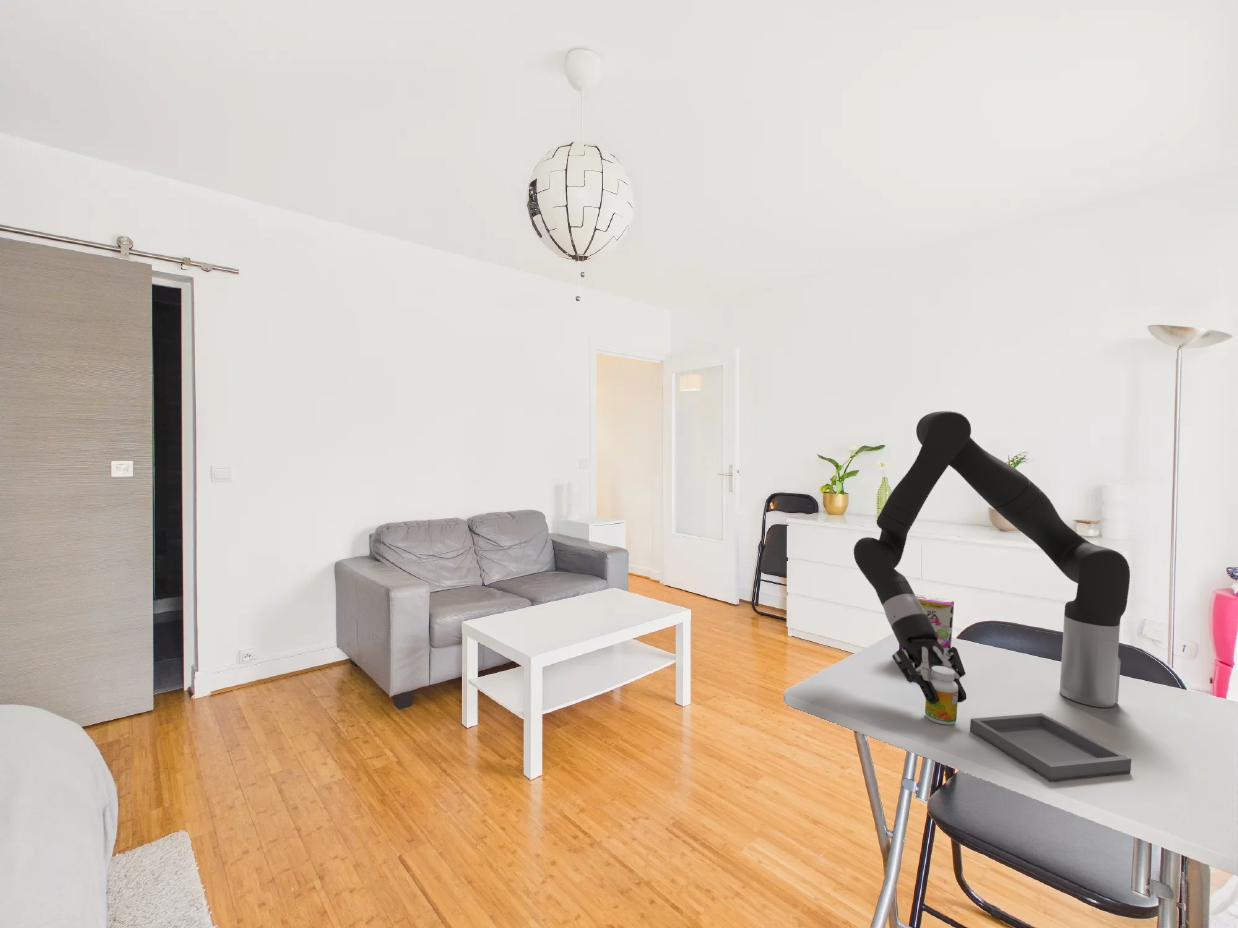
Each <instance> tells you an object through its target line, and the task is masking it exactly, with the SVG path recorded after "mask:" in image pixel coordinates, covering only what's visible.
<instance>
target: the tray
mask: <svg viewBox="0 0 1238 928" xmlns="http://www.w3.org/2000/svg"><path fill="white" fill-rule="evenodd" d="M969 732H970V733H972V734H973V735H974V736H976V737H978V738H979V739H981V740H982V741H984V742H985V743H987V744H989V745H990V746H992V747H994V748H995V749H997V750H999V751H1000V752H1002V753H1003V754H1004V755H1006V756H1008V757H1010V758H1011V759H1013V760H1014V761H1016V762H1017V763H1019V764H1021V765H1022V766H1024V767H1025V768H1027V769H1029V770H1031V772H1033V773H1035V774H1037V776H1040V777H1041V778H1043V779H1045V780H1046V781H1048V782H1050V783H1055V782H1064V781H1065V782H1067V781H1073V780H1074V781H1075V780H1076V781H1077V780H1084V779H1092V778H1093V779H1094V778H1103V777H1105V778H1106V777H1113V776H1121V775H1131V770H1132V758H1130V757H1128V756H1127V755H1124V754H1122V753H1121V752H1118V751H1116V750H1114V749H1113V748H1111V747H1109V746H1107V745H1104V744H1103V743H1100V742H1099V741H1097V740H1095V739H1093V738H1091V737H1089V736H1087V735H1085V734H1083V733H1082V732H1079V731H1077V730H1075V729H1073V728H1072V727H1069V726H1068V725H1066V724H1063V723H1062V722H1060V721H1058V720H1056V719H1053V718H1052V717H1051V716H1048V715H1046V714H1044V713H1042V712H1040V713H1028V714H1015V715H1002V716H1000V715H999V716H989V717H987V716H986V717H975V718H970V724H969Z"/></svg>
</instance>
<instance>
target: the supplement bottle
mask: <svg viewBox="0 0 1238 928" xmlns="http://www.w3.org/2000/svg"><path fill="white" fill-rule="evenodd" d="M930 674H931V676H930V677H929V680H928V681H931V683H932V685H933V687H934V689H935V691H936V693H937V695H938V697H939V702H937V703H936V704H930V703H929V701H927V700H926V699H925V707H924V715H925V717H926V718H927V719H929V720H930V721H931V722H934V723H937V724H940V725H945V726H946V725H948V726H950V725H954V724H955V723H957V717H958V703H959V702H958V685H957V684H956V683H955V682H954V681H953V680H954V679H955V672H954V671H953V670H952V669H950V668H947V667H943V666H933V667H932V669H931V671H930Z"/></svg>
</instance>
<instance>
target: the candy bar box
mask: <svg viewBox="0 0 1238 928" xmlns="http://www.w3.org/2000/svg"><path fill="white" fill-rule="evenodd" d="M915 596H916V598H917V599H918V601H919V602H920V603H921V605H922V607H923V609H924V611H925V612H926V614H927V616H928V618H929V620H930V622H931V624H932V626H933V628H934V630H935V632H936V634H937V641H938V642H939V644H940V645H942V647H943V648H949V649H950V648H952V636H953V626H954V625H953V623H954V611H955V600H951V599H946V598H945V599H944V598H938V597H931V596H926V595H920V594H915ZM899 649H901V650H903V648H902V647H901V646H900V645H899V644H898V650H899ZM943 656H944V655H943ZM944 657H945V656H944ZM908 659H909V658H908ZM909 660H910V659H909ZM910 662H911V663H912V665H913V662H912V661H911V660H910ZM940 666H943V664H941V665H940Z"/></svg>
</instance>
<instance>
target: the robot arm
mask: <svg viewBox="0 0 1238 928" xmlns="http://www.w3.org/2000/svg"><path fill="white" fill-rule="evenodd" d="M915 428H916V429H915V430H916V432H915V434H916V436H917V440H918V442H919V443H920V444H921V447H920V450H919V452H918V455H917V457H915V460H914V462H913V464H912V465H911V466H910V468H909V469H908V471H907V473H906V474H905V475H904V476H903V477H902V478H901V480H900V481H899V483H898V484H897V485H896V486H895V487H894V489H893V490H892V491H891V493H890V495H889V496H888V497H887V499H886V502H885V503H884V506H883V507H882V508H881V510H880V512H879V515H878V516H877V519H876V524H877V527H878V528H879V529H881V531H880V536H879V538H878V539H877V538H875V537H870V536H868V537H867V536H866V537H862V538H860V539H858V541H857V542H856V543H855V544H854V548H853V555H854V556H853V558H854V561H855V564H856V565H857V567H858V569H859V570H860V572H861V573H862V574H863V576H864V577H865V578H866V580H867V581H868V582H869V584H870V585H871V586H872V587H873V589H874V590H875V593H876V595H877V597H878V599H879V601H880V604H881V605H882V608H883V610H884V614H885V618H886V619H887V622H888V624H889V625H890V628H891V630H892V631H893V634H894V636H895V637H896V640H897V642H898V646H899V645H900V646H901V647H902V648H903V650H901V649H899V648H898V650H896V652H894V653H893V654H892V656H891V657H892V659H893V661H894V662H895V664H896V665H897V667H898V668H899V670H900V671H901V673H902V674H903V676H904V679H906V681H907V683H910V684H912V683H915V684H917V685H918V686H919V687H920V690H921V691H922V694H923V696H924V698H925V701H926V700H927V701H929V703H930V704H936V703H937V702H939V697H938V695H937V693H936V691H935V689H934V687H933V685H932V683H931V681H928V680H929V669H932V667H933V666H940V665H941V664H943V667H947V668H950V669H952V670H953V671H954V672H955V679H954V680H953V681H954V682H955V683H956V684H957V685H958V703H963V702H964V701H966V700H967V693H966V691H965V688H964V687H963V685H962V683H961V681H960V679H961V678H962V677H964V676H965V675H966V670H965V668H964V665H963V662H962V660H961V656H960V653H959V651H958V648H956V647H955V646H951V648H950V649H949V648H943V647H942V645H940V644H939V642H938V641H937V634H936V632H935V630H934V628H933V626H932V624H931V622H930V620H929V618H928V616H927V614H926V612H925V611H924V609H923V607H922V605H921V603H920V602H919V601H918V599H917V598H916V596H915V595H916V594H915V593H914V590H913V588H912V586H911V584H910V583H909V581H908V580H907V578H906V577H905V576H904V574H902V573H900V572H899V571H897V569H895V568H897V566H898V565H899V564H900V562H901V559H902V557H903V554H904V551H905V550H904V549H905V546H906V543H907V537H908V533H909V531H910V530H911V528H912V526H913V524H914V523H915V521H916V519H917V517H918V515H919V513H920V512H921V510H922V508H923V506H924V504H925V502H926V501H927V499H928V497H929V495H930V494H931V492H932V490H933V489H934V488H935V486H936V484H937V482H938V481H939V480H940V478H941V477H942V475H943V474H944V473H945V471H946V469H947V468H948V467H950V468H952V469H953V470H954V471H956V472H957V473H958V474H959V475H960V477H962V478H963V479H964V480H965V481H966V482H967V484H968V485H970V487H971V488H972V489H973V490H974V491H975V492H976V493H977V494H978V495H979V496H980V497H982V499H983V500H984V501H985V502H987V504H988V505H989V506H991V507H992V508H993V510H995V511H996V512H997V513H998V514H999V515H1000V516H1001V517H1002V518H1003V519H1005V520H1007V522H1009V523H1010V524H1011V525H1012V526H1013V527H1015V529H1017V530H1018V531H1019V532H1020V533H1022V534H1023V535H1025V536H1026V537H1027V538H1029V539H1030V540H1031V541H1032V542H1033V543H1035V544H1036V545H1037V547H1039V548H1040V549H1041V550H1042V551H1043V553H1044V554H1046V556H1048V558H1049V559H1050V560H1051V561H1052V562H1053V563H1054V564H1055V566H1056V567H1057V568H1058V569H1059V570H1060V571H1061V572H1062V573H1063V575H1064V576H1065V577H1067V578H1068V579H1069V580H1071V581H1072V582H1074V583H1075V584H1077V588H1076V593H1075V594H1076V595H1075V598H1074V599H1073V600H1069V601H1067V602H1066V603H1065V605H1064V614H1063V631H1062V647H1061V648H1062V649H1061V664H1060V665H1061V666H1060V676H1059V677H1060V678H1059V679H1060V680H1059V694H1060V695H1062V696H1063V697H1065V698H1067V699H1069V700H1071V701H1074V702H1076V703H1079V704H1083V705H1087V706H1091V707H1098V708H1113V707H1114V706H1115V704H1118V703H1119V693H1120V692H1119V691H1120V690H1119V689H1120V680H1121V679H1120V677H1121V674H1120V673H1121V665H1122V664H1121V663H1122V661H1121V658H1120V657H1119V644H1120V626H1121V618H1122V617H1123V616H1124V614H1125V612H1126V610H1127V604H1128V597H1129V589H1130V581H1131V579H1130V578H1131V569H1130V566H1129V563H1128V560H1127V558H1126V557H1125V556H1124V555H1123V554H1121V553H1120V552H1119V551H1116V550H1114V549H1112V548H1111V549H1110V548H1109V547H1108V548H1107V547H1105V546H1100V545H1097V544H1094V543H1092V542H1090V541H1088V540H1087V539H1085V538H1084V537H1082V536H1081V535H1080V534H1078V533H1077V532H1076V531H1074V529H1073V528H1072V527H1070V526H1068V524H1067V523H1065V521H1063V519H1062V518H1061V517H1060V515H1059V513H1058V511H1057V509H1056V508H1055V506H1054V504H1053V502H1052V501H1051V500H1050V498H1049V497H1048V496H1047V495H1046V493H1045V492H1043V490H1042V489H1040V487H1038V486H1037V485H1036V484H1035V483H1033V481H1031V479H1029V478H1028V477H1027V476H1026V475H1025V474H1023V473H1022V472H1020V471H1019V470H1018V469H1016V468H1015V467H1013V466H1011V465H1010V464H1009V463H1006V462H1005V461H1003V460H1001V459H1000V458H998V457H997V456H995V455H993V454H991V453H989V452H988V451H986V450H985V449H984V448H982V447H981V446H980V445H979V444H978V443H977V442H976V441H974V439H973V438H972V437H971V434H972V427H971V423H970V421H969V420H968V418H967V417H966V416H965V415H963V414H962V413H960V412H957V411H952V410H941V411H939V410H938V411H934V412H929V413H928V414H925V415H924V416H922V417H921V418H920V419H919V421H918V422H917V424H916V427H915ZM943 655H944V656H945V657H944V656H943ZM908 658H909V659H910V660H911V661H912V662H913V664H912V663H911V662H910V660H909V659H908Z"/></svg>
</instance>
